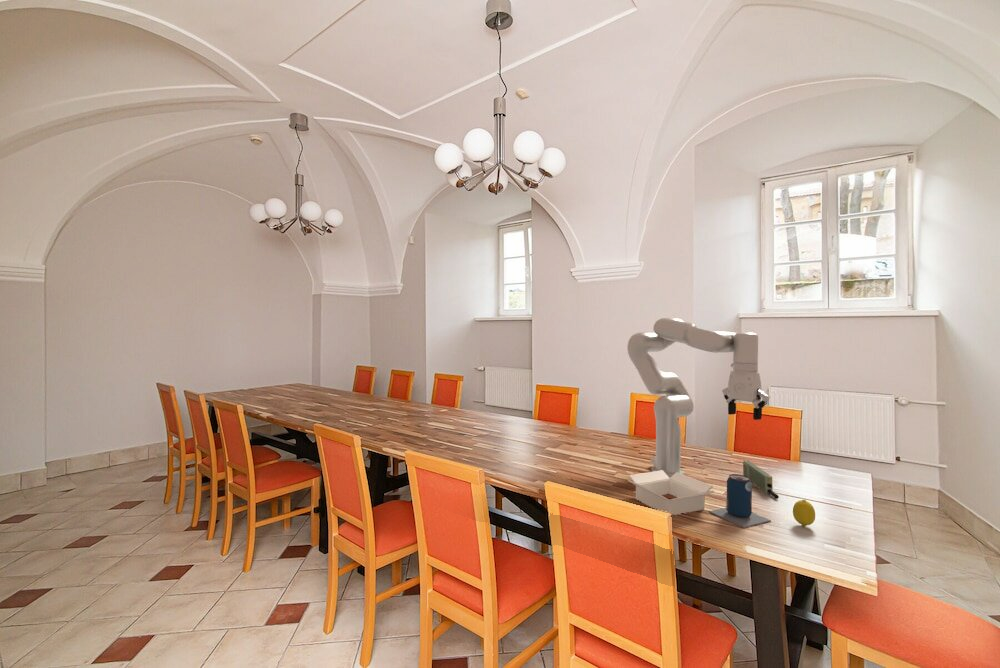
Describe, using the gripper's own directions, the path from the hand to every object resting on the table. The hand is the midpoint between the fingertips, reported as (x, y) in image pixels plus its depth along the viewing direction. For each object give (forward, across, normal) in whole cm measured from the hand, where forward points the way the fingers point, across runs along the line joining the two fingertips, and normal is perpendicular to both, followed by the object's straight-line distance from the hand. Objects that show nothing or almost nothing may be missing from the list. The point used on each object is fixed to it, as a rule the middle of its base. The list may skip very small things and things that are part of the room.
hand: (744, 416), depth 152 cm
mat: (+28, +11, -16) cm, 34 cm away
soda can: (+28, +11, -16) cm, 34 cm away
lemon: (+28, +23, -4) cm, 37 cm away
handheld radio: (+29, -4, +16) cm, 33 cm away
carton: (+28, -5, -29) cm, 41 cm away
